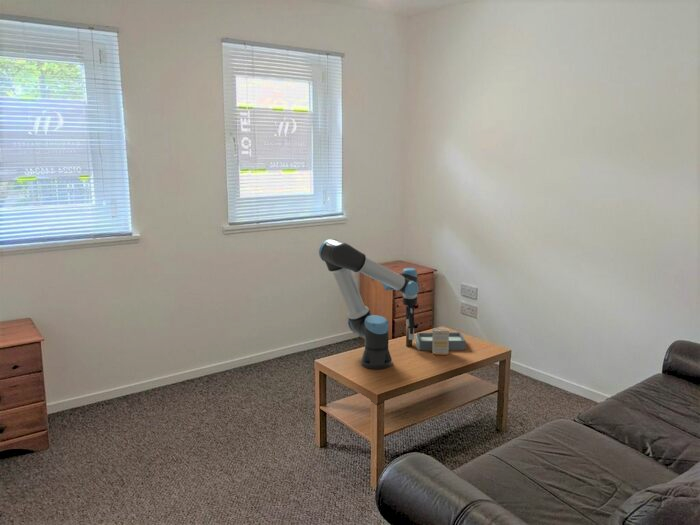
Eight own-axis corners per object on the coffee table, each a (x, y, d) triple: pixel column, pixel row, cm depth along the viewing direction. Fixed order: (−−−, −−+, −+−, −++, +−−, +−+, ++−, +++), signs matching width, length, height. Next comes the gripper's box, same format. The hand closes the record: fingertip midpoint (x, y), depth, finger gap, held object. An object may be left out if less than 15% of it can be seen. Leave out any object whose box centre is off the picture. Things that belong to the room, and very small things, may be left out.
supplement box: (447, 352, 289) (448, 328, 287) (448, 355, 285) (449, 331, 282) (431, 351, 290) (432, 327, 288) (432, 354, 285) (432, 330, 283)
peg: (406, 346, 297) (406, 325, 295) (405, 344, 300) (406, 323, 298) (412, 346, 297) (413, 325, 295) (412, 344, 301) (412, 323, 298)
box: (417, 350, 292) (418, 341, 291) (414, 341, 306) (414, 332, 305) (465, 349, 292) (465, 340, 291) (460, 340, 306) (460, 332, 305)
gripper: (420, 303, 281) (419, 342, 286) (414, 290, 306) (414, 327, 310) (405, 303, 281) (405, 343, 286) (400, 291, 306) (400, 327, 310)
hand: (410, 334), depth 298 cm, fingers open, 13 cm apart
